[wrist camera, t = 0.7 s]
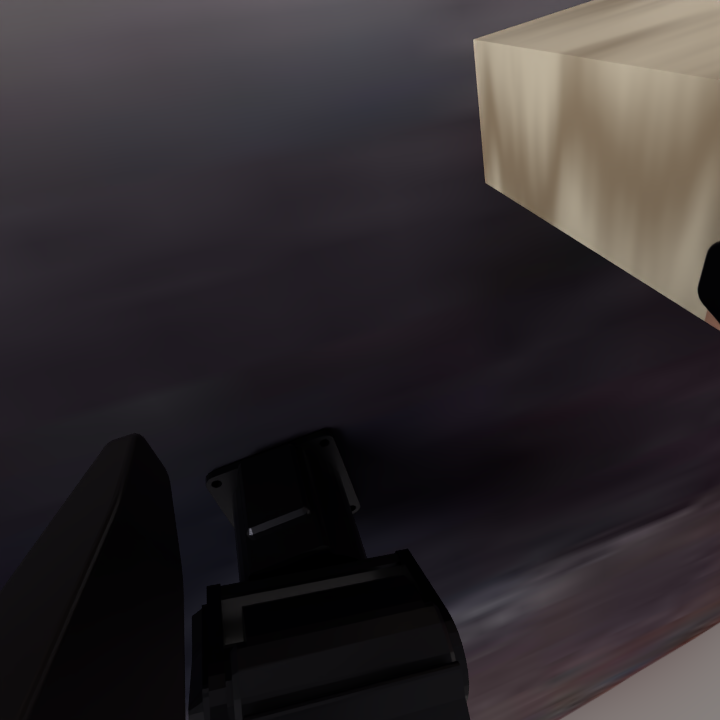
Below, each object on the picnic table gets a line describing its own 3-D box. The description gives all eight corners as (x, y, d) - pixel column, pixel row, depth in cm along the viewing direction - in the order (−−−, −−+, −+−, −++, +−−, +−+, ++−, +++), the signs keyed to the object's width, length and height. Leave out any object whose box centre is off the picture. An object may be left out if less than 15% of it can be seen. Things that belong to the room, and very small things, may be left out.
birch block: (599, 142, 21) (940, 267, 11) (485, 182, 21) (741, 344, 11) (606, -5, 18) (1081, 0, 8) (473, 39, 17) (812, 95, 8)
